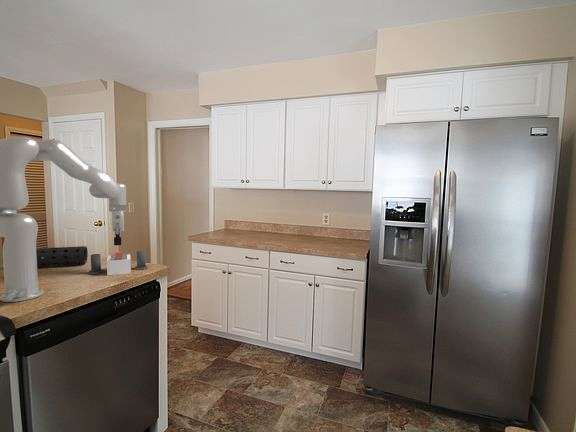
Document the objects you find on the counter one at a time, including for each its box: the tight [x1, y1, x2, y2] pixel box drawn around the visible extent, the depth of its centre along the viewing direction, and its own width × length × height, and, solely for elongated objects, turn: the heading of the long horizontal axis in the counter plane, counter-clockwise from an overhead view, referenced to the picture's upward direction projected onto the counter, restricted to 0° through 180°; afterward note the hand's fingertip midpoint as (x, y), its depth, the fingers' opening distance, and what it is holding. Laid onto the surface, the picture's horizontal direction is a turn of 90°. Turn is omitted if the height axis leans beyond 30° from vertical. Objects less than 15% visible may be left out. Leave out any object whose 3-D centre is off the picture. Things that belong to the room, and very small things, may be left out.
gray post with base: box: [88, 253, 104, 275], centre depth 149 cm, size 6×6×9 cm
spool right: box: [134, 250, 149, 271], centre depth 158 cm, size 6×6×9 cm
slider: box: [114, 251, 123, 259], centre depth 148 cm, size 2×3×3 cm
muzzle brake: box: [36, 245, 89, 269], centre depth 159 cm, size 10×28×10 cm, turn 111°
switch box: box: [106, 253, 132, 276], centre depth 153 cm, size 12×10×7 cm
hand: (117, 245), depth 153 cm, fingers closed
